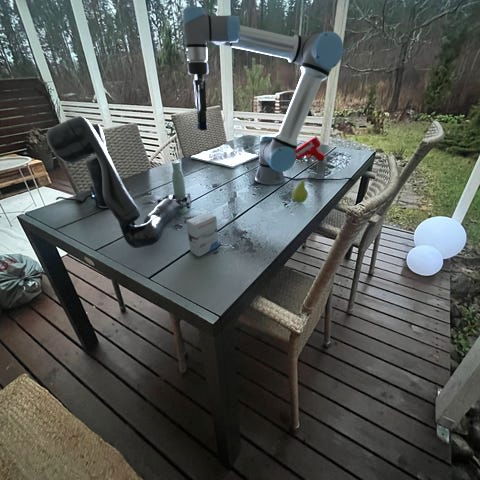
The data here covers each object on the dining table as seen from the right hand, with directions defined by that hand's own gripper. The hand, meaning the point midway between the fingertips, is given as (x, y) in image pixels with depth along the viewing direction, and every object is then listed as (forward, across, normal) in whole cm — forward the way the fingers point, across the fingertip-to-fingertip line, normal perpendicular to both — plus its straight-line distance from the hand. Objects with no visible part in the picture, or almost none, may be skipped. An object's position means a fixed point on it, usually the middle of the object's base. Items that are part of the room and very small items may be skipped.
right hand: (202, 128), depth 113 cm
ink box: (+30, +45, -9) cm, 54 cm away
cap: (-2, 0, 0) cm, 2 cm away
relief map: (+30, -58, +22) cm, 68 cm away
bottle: (+30, +14, -13) cm, 35 cm away
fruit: (+30, +20, +38) cm, 52 cm away
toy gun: (+30, -35, +71) cm, 84 cm away
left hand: (+23, +11, -12) cm, 29 cm away
